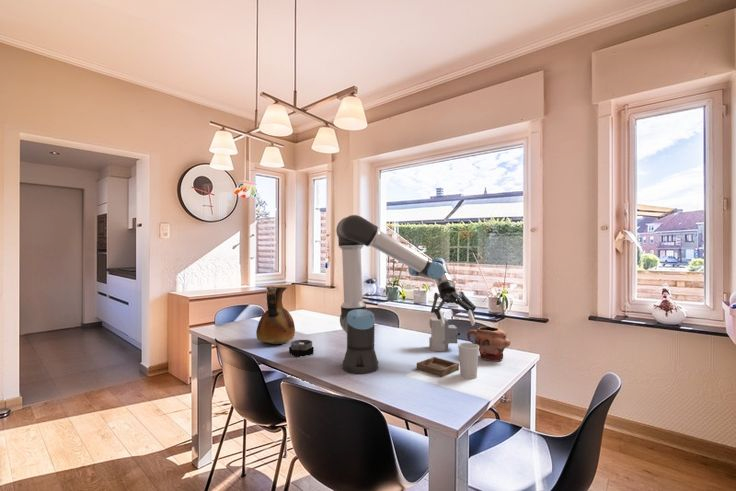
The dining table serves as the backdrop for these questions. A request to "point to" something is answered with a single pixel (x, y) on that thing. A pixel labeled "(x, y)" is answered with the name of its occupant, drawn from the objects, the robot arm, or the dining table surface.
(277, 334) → the brown vase
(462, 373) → the cup
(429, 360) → the wooden tray
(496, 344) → the brown clay rounded pot
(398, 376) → the dining table surface
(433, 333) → the circuit breaker
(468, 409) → the dining table surface
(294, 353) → the cpu cooler
